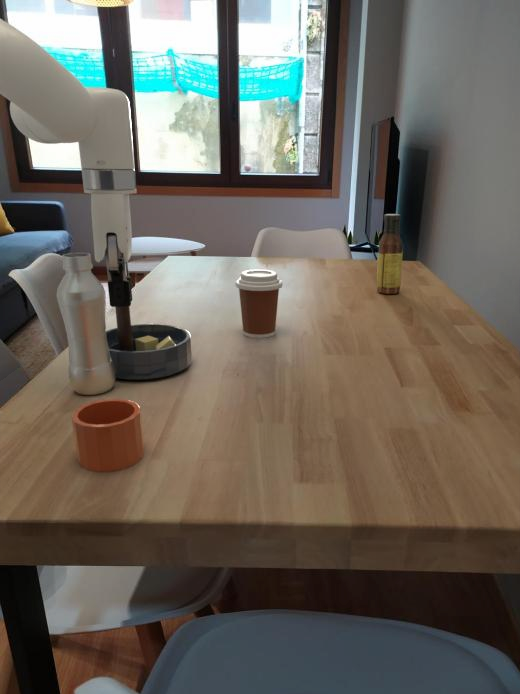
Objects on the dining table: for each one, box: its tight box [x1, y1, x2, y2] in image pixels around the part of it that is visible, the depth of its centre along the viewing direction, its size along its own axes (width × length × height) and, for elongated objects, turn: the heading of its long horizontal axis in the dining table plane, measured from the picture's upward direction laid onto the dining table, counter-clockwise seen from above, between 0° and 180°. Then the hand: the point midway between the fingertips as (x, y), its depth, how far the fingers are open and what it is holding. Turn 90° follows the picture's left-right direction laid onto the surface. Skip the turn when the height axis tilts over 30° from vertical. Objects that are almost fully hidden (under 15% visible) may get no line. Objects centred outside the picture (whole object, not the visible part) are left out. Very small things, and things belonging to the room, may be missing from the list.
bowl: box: [106, 323, 193, 381], centre depth 90 cm, size 15×15×5 cm
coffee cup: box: [235, 269, 283, 339], centre depth 106 cm, size 9×9×12 cm
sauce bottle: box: [376, 213, 404, 295], centre depth 140 cm, size 6×6×20 cm
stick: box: [114, 306, 133, 351], centre depth 88 cm, size 2×2×14 cm
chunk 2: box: [156, 336, 176, 349], centre depth 91 cm, size 3×3×3 cm
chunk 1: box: [135, 336, 159, 351], centre depth 94 cm, size 3×3×3 cm
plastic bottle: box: [56, 252, 116, 396], centre depth 77 cm, size 6×7×20 cm
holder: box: [71, 398, 145, 473], centre depth 62 cm, size 7×7×6 cm
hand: (121, 303), depth 88 cm, fingers closed on stick, 2 cm apart
